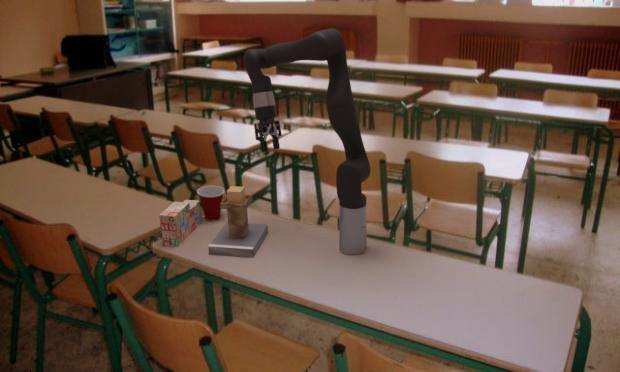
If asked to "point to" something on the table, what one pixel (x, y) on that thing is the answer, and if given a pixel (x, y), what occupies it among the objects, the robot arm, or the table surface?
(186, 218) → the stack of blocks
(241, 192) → the carton
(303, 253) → the table surface
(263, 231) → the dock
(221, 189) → the plastic cup
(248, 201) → the stand
